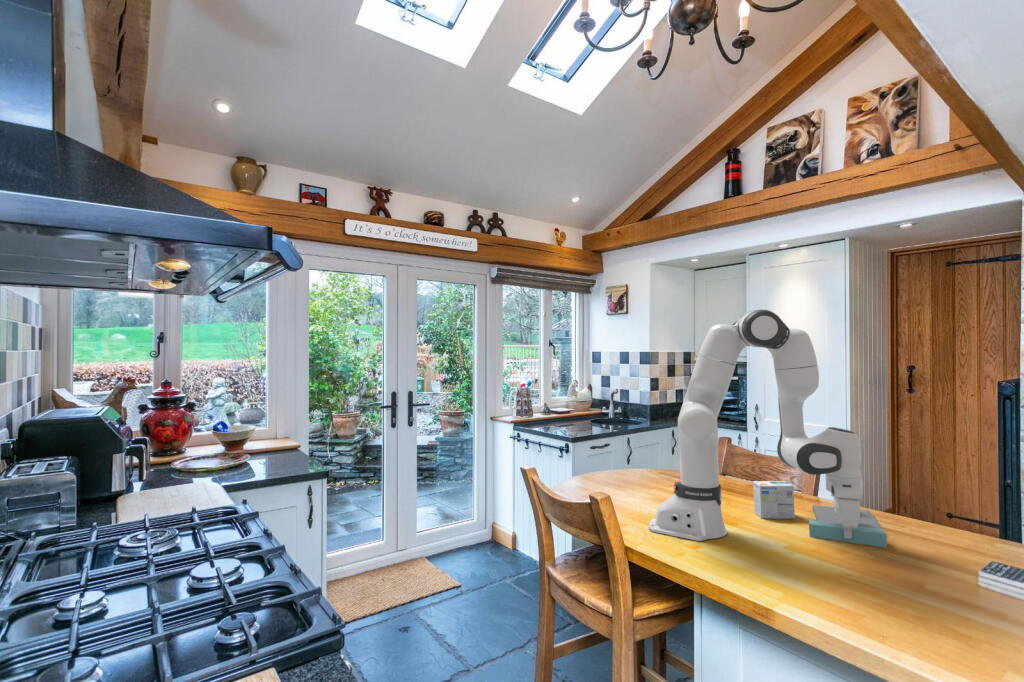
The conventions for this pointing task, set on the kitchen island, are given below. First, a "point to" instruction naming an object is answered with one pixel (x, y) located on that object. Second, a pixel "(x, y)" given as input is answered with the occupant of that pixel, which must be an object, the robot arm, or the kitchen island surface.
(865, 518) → the board
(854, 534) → the beam
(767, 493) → the light bulb box
